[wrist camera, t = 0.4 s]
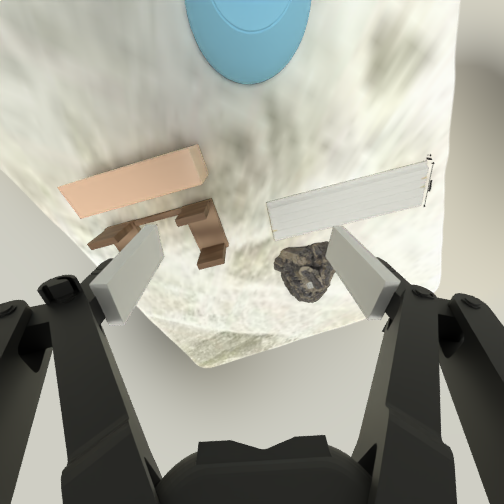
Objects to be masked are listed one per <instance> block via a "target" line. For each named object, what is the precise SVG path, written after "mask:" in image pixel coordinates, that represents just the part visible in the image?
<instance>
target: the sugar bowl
mask: <svg viewBox="0 0 504 504" xmlns="http://www.w3.org/2000/svg"><path fill="white" fill-rule="evenodd" d="M185 4H186V10H187V15H188V19H189V23H190V26H191V29H192V32H193V34H194V37H195V40H196V42H197V44H198V46H199V48H200V50H201V52H202V53H203V55H204V56H205V58H206V59H207V61H208V62H209V63H210V64H211V66H212V67H213V68H214V69H215V70H216V71H217V72H219V73H220V74H221V75H223V76H224V77H226V78H228V79H230V80H232V81H234V82H237V83H242V84H255V83H260V82H263V81H266V80H268V79H270V78H272V77H273V76H275V75H276V74H278V73H279V72H280V71H281V70H282V69H283V68H284V67H285V66H286V65H287V64H288V62H289V61H290V60H291V58H292V57H293V55H294V54H295V52H296V50H297V48H298V46H299V44H300V42H301V40H302V37H303V35H304V32H305V28H306V25H307V21H308V17H309V12H310V6H311V0H185Z"/></svg>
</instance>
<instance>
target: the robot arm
mask: <svg viewBox="0 0 504 504" xmlns="http://www.w3.org/2000/svg"><path fill="white" fill-rule="evenodd" d="M163 258H164V254H163V249H162V245H161V240H160V236H159V231H158V227H157V225H145V226H144V227H143V228H142V229H141V231H140V232H139V233H138V234H137V235H136V236H135V237H134V238H133V239H132V240H131V241H130V242H129V243H128V244H127V245H126V246H125V247H124V248H123V249H122V250H121V251H120V252H119V254H118V255H117V256H116V257H115V258H111V259H108V260H106V261H104V262H103V263H101V264H100V265H99V266H98V267H97V268H96V269H95V270H94V271H93V272H92V273H91V275H89V276H88V277H87V278H86V279H85V280H84V281H83V282H82V283H81V284H80V283H79V281H78V280H77V278H76V277H75V276H73V275H62V276H58V277H55V278H53V279H50V280H48V281H46V282H45V283H43V284H42V285H41V286H40V287H39V288H38V290H37V291H38V293H39V294H40V296H41V297H42V299H43V300H44V302H45V303H46V304H43V305H38V306H33V307H29V306H28V304H27V303H26V302H25V301H23V300H14V301H9V302H6V303H2V304H0V504H11V500H12V497H13V493H14V489H15V486H16V482H17V478H18V475H19V471H20V467H21V464H22V460H23V456H24V452H25V449H26V445H27V442H28V438H29V434H30V430H31V427H32V423H33V420H34V416H35V412H36V409H37V404H38V401H39V398H40V394H41V390H42V386H43V383H44V379H45V376H46V372H47V368H48V364H49V361H50V357H51V354H52V350H53V354H54V361H55V368H56V376H57V383H58V389H59V398H60V405H61V412H62V420H63V427H64V434H65V442H66V448H67V457H68V464H67V466H66V467H65V469H64V470H63V471H62V476H61V489H62V499H63V504H457V497H456V483H455V481H456V480H455V466H454V458H453V453H452V451H451V449H450V447H449V446H447V445H446V444H444V443H443V441H442V438H441V417H440V381H439V380H440V379H439V364H440V366H441V369H442V372H443V375H444V377H445V380H446V383H447V386H448V388H449V391H450V394H451V397H452V400H453V402H454V405H455V408H456V411H457V414H458V416H459V419H460V422H461V425H462V427H463V430H464V433H465V436H466V439H467V441H468V444H469V447H470V450H471V452H472V455H473V458H474V461H475V463H476V466H477V469H478V472H479V475H480V478H481V480H482V483H483V486H484V489H485V492H486V494H487V497H488V500H489V503H490V504H504V326H503V325H502V324H501V322H500V321H499V320H498V318H497V317H496V316H495V314H494V313H493V312H492V310H491V309H490V308H489V307H488V306H487V305H486V304H485V303H484V302H482V301H481V300H480V299H478V298H475V297H473V296H470V295H467V294H461V293H458V294H455V295H454V296H453V297H452V299H451V300H447V299H442V298H437V297H436V295H434V293H433V292H431V291H430V290H428V289H426V288H424V287H421V286H418V285H411V284H410V283H408V282H407V281H406V280H405V279H404V278H403V277H402V276H401V275H400V274H399V273H398V272H396V271H395V270H394V269H393V268H391V266H390V265H389V264H388V263H387V262H385V261H384V260H382V259H380V258H378V257H375V256H374V255H373V254H372V253H371V252H370V251H369V250H367V249H366V248H365V247H364V246H363V245H362V244H361V243H360V242H359V241H358V240H357V239H356V238H355V237H354V236H353V235H352V234H351V233H350V232H349V231H348V230H347V229H346V228H344V227H343V226H333V229H332V233H331V237H330V241H329V244H328V248H327V252H326V258H327V260H328V261H329V263H330V264H331V266H332V267H333V269H334V270H335V272H336V273H337V275H338V276H339V278H340V279H341V281H342V282H343V284H344V285H345V287H346V288H347V290H348V291H349V293H350V294H351V296H352V297H353V299H354V300H355V302H356V303H357V305H358V306H359V308H360V309H361V311H362V312H363V314H364V315H365V317H366V318H367V320H381V319H382V317H383V315H384V313H385V312H386V314H387V315H388V316H389V317H390V318H389V319H388V321H387V323H386V325H385V327H384V329H383V330H382V332H384V336H383V340H382V344H381V348H380V353H379V357H378V361H377V365H376V369H375V373H374V377H373V381H372V386H371V389H370V394H369V398H368V402H367V406H366V410H365V414H364V418H363V422H362V426H361V430H360V435H359V438H358V441H357V444H356V446H355V449H354V451H353V454H352V456H351V457H350V456H349V455H347V454H346V453H344V452H342V451H341V450H339V449H337V448H334V447H332V446H329V445H328V444H327V440H326V437H325V435H317V436H299V437H293V438H291V439H289V440H286V441H284V442H282V443H279V444H277V445H275V446H272V447H270V448H268V449H258V448H255V447H252V446H248V445H245V444H242V443H238V442H235V441H231V440H227V441H209V442H199V444H198V452H196V453H193V454H191V455H189V456H188V457H186V458H184V459H183V460H181V461H180V462H179V463H178V464H176V465H175V466H174V467H173V468H172V469H171V470H170V471H169V472H168V473H167V474H166V475H165V476H164V477H163V478H162V476H161V474H160V471H159V469H158V467H157V464H156V462H155V460H154V458H153V456H152V453H151V451H150V449H149V446H148V444H147V441H146V438H145V436H144V433H143V431H142V428H141V426H140V423H139V420H138V418H137V415H136V413H135V410H134V408H133V405H132V402H131V400H130V397H129V395H128V392H127V389H126V387H125V384H124V382H123V379H122V377H121V374H120V371H119V369H118V366H117V364H116V361H115V359H114V356H113V353H112V351H111V348H110V346H109V343H108V340H107V338H106V335H105V333H104V330H103V328H102V326H101V323H102V322H103V320H104V319H105V318H106V320H107V322H108V324H109V326H111V325H112V326H113V325H114V326H115V325H125V323H126V322H127V320H128V318H129V316H130V315H131V313H132V311H133V310H134V308H135V306H136V304H137V303H138V301H139V299H140V298H141V296H142V294H143V292H144V291H145V289H146V287H147V286H148V284H149V282H150V280H151V279H152V277H153V275H154V273H155V272H156V270H157V268H158V267H159V265H160V263H161V261H162V260H163Z"/></svg>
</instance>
